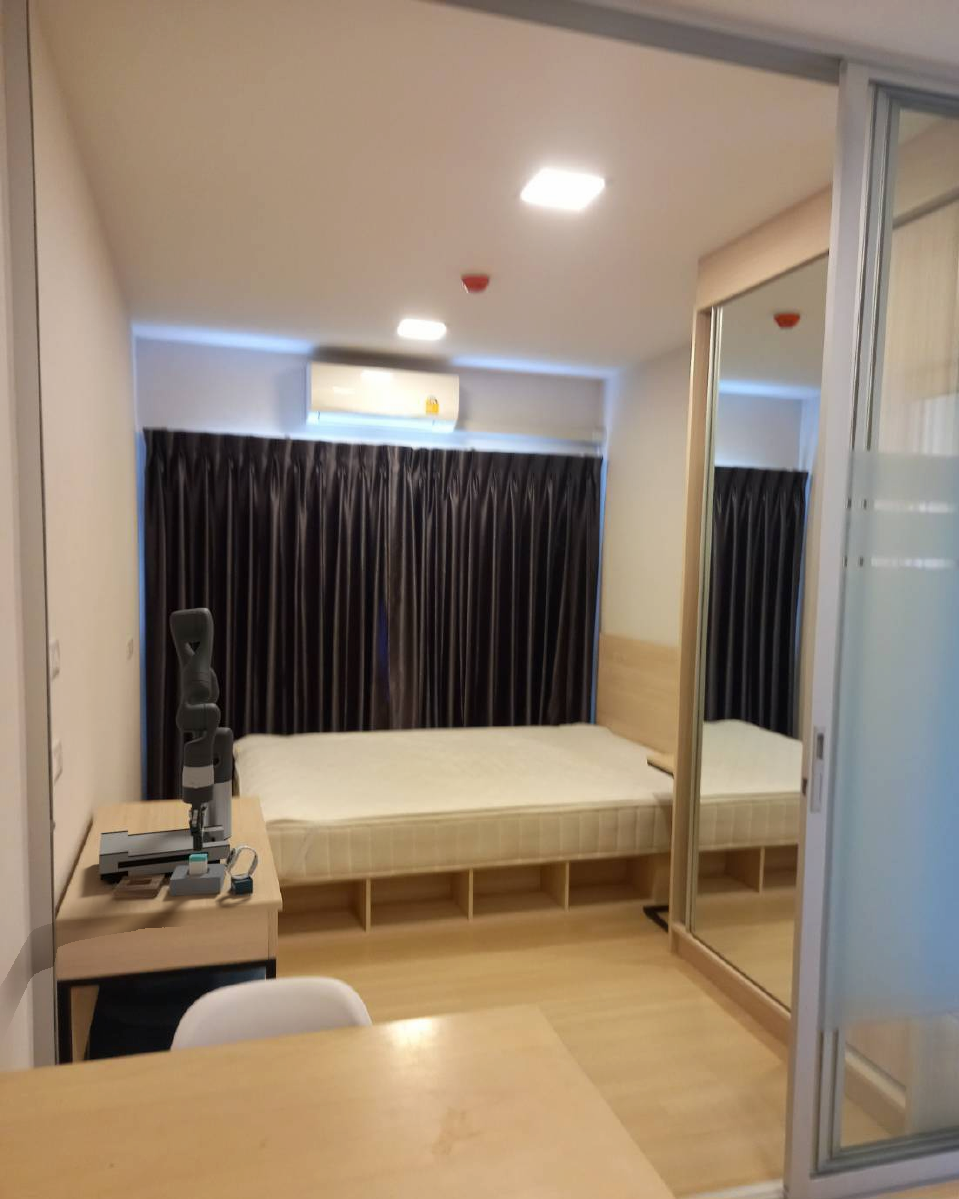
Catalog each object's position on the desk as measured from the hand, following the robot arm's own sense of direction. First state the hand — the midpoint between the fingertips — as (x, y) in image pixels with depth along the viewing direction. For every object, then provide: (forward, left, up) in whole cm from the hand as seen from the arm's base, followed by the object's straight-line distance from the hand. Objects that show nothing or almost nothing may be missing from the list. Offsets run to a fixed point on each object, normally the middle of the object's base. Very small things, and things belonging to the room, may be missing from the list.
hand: (197, 850), depth 208 cm
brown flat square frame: (0, -14, -9) cm, 17 cm away
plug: (0, 0, -10) cm, 10 cm away
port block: (0, 0, -9) cm, 9 cm away
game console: (-18, -11, -10) cm, 23 cm away
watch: (+4, +11, -10) cm, 15 cm away
